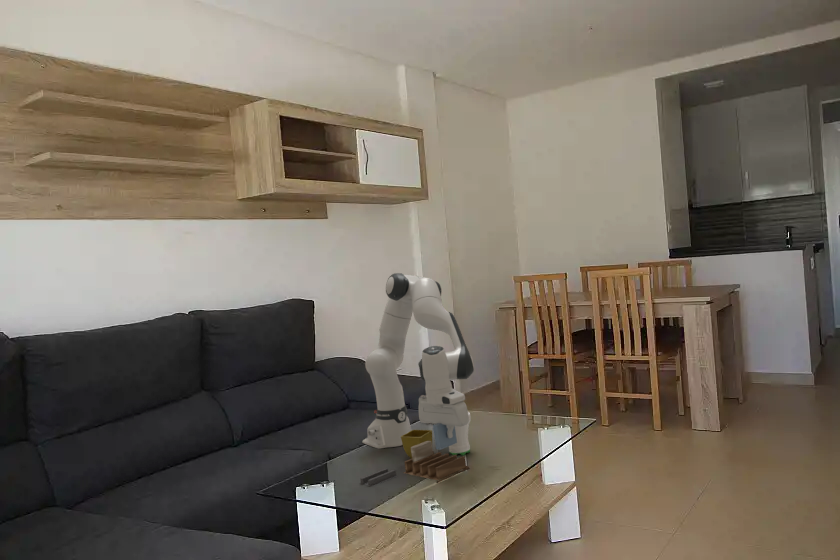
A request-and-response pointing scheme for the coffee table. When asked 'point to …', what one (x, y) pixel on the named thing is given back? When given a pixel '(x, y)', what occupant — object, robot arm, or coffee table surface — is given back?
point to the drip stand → (378, 477)
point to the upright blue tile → (443, 436)
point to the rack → (433, 463)
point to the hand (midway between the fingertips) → (445, 437)
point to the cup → (461, 440)
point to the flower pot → (415, 439)
